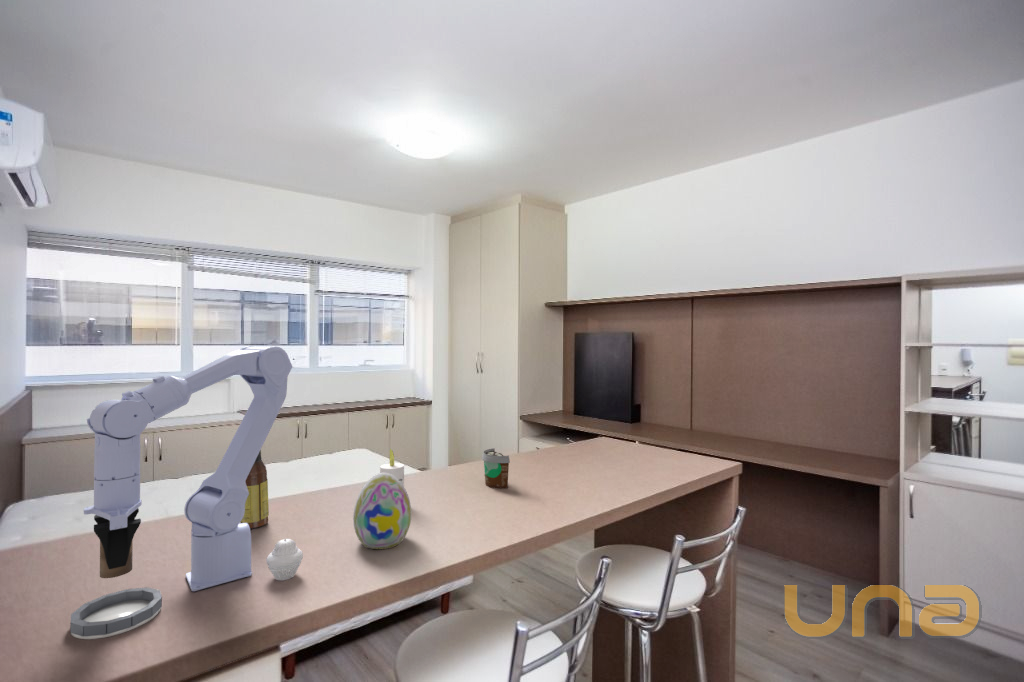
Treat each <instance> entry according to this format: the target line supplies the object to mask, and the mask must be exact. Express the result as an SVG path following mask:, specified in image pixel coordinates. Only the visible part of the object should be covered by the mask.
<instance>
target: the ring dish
mask: <svg viewBox="0 0 1024 682" xmlns="http://www.w3.org/2000/svg"><path fill="white" fill-rule="evenodd" d="M162 607H163V596H162V592H161V590H160V589H157V588H153V587H152V588H151V587H135V588H134V587H133V588H126V589H122V590H119V591H118V590H117V591H114V592H110V593H107V594H104V595H101V596H98V597H97V598H95V599H92V600H90V601H87V602H86V603H84V604H82V605H80V607H78V608H77V609H76V610H74V611H73V612H71V614H70V620H69V621H70V623H69V624H70V625H69V626H70V628H69V631H70V632H69V633H70V635H71V636H72V637H74V638H75V639H78V640H79V639H80V640H97V639H103V638H109V637H113V636H118V635H121V634H123V633H126V632H129V631H132V630H134V629H137V628H139V627H141V626H143V625H145V624H146V623H148V622H150V621H151V620H153V619H154V618H155V617H156V616H158V614H159V613H160V611H161V608H162Z"/></svg>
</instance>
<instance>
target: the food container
mask: <svg viewBox="0 0 1024 682" xmlns="http://www.w3.org/2000/svg"><path fill="white" fill-rule="evenodd" d="M495 448H496V447H495ZM495 448H487V449H485V450H483V453H482V455H481V460H482V461H483V467H484V481H485V482H484V483H485V484H484V485H485V486H486V487H488V488H491V489H502V490H503V489H508V488H509V487H508V486H509V468H510V465H509V464H510V463H511V462H510V455H503V453H502V452H497V451H495Z"/></svg>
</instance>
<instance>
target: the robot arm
mask: <svg viewBox="0 0 1024 682" xmlns="http://www.w3.org/2000/svg"><path fill="white" fill-rule="evenodd" d="M292 369H293V364H292V362H291V360H290V358H289V356H288V353H287V352H286V350H285V349H283V348H282V347H279V346H276V345H275V346H273V345H272V346H253V345H252V346H251V345H247V346H243V347H242V348H240V349H237V350H233V351H230V352H228V353H226V354H225V355H223V356H221V357H220V358H216V359H215V360H213V361H211V362H210V363H207V364H205V365H204V366H202V367H199V368H198V369H195V370H194V371H192V372H190V373H188V374H186V375H184V376H182V377H181V378H179V377H178V376H177V377H176V376H175V375H167V376H164V375H158V376H156V377H153V378H152V382H151V383H149V384H147V385H145V386H143V387H141V388H138V389H135V390H134V391H131V390H126V391H125V392H122V394H121V396H122V397H121V399H109V400H105V401H102V402H100V403H99V404H97V405H96V406H95V407H94V409H92V411H91V413H90V416H89V418H88V417H87V419H86V422H87V426H88V428H89V429H90V430H91V431H92V433H94V449H93V453H94V454H93V455H94V456H93V458H94V461H93V505H90V506H85V507H84V508H83V515H94V517H93V520H94V521H95V522H96V524H94V525H93V531H94V533H95V535H96V536H97V538H98V539H99V542H100V541H101V543H102V546H103V549H104V553H105V558H106V563H107V566H108V568H109V569H113V568H118V567H122V566H125V565H126V563H127V560H128V556H129V552H130V547H131V543H132V540H133V539H134V537H135V534H136V532H137V530H138V529H139V527H140V525H141V523H142V519H141V518H136V517H137V515H138V514H139V511H140V509H139V508H141V506H142V504H143V503H142V499H141V433H143V432H144V431H145V430H146V428H147V426H148V424H150V423H152V422H154V421H156V420H159V419H160V418H162V417H165V416H166V415H168V414H170V413H172V412H174V411H176V410H178V409H180V408H182V407H184V406H186V405H187V404H188V403H189V401H190V398H191V397H192V394H194V393H197V392H199V391H201V390H204V389H206V388H208V387H210V386H212V385H215V384H217V383H219V382H221V381H223V380H224V381H225V380H226V379H229V378H231V377H233V376H240V377H241V378H242V379H243V380H244V382H246V385H248V386H249V387H250V390H251V392H252V394H253V399H252V400H251V402H250V405H249V407H248V408H247V410H246V413H245V414H244V416H243V417H242V419H241V422H240V424H239V426H238V428H237V430H236V432H235V433H234V435H233V438H232V439H231V442H230V443H229V446H228V447H227V449H226V450H225V453H224V455H223V457H222V459H221V461H220V463H219V465H218V466H217V468H216V470H215V472H213V474H211V475H210V476H208V477H206V478H205V479H204V480H202V482H201V484H200V486H199V488H198V489H197V490H196V491H194V492H193V493H192V494H191V496H189V497H188V499H187V501H186V502H185V505H184V510H183V511H184V516H185V518H186V519H187V520H188V522H190V523H191V533H190V534H191V536H190V537H191V539H190V540H191V541H190V543H191V544H190V550H191V551H190V571H189V572H186V573H185V578H186V580H187V583H188V585H189V588H190V590H191V592H196V591H201V590H203V589H204V590H205V589H207V588H211V587H215V586H218V585H222V584H225V583H229V582H232V581H233V582H234V581H237V580H240V579H244V578H246V577H251V576H252V575H253V571H252V533H251V532H252V531H251V529H250V527H249V525H248V523H240V522H241V520H242V518H243V516H244V513H245V502H246V500H247V497H248V495H249V492H248V489H247V486H246V482H245V481H246V479H247V477H248V475H249V472H250V470H251V468H252V466H253V464H254V462H255V460H256V458H257V456H258V454H259V452H260V450H261V451H262V447H263V445H264V443H265V441H266V439H267V438H268V435H269V433H270V431H271V429H272V427H273V425H274V423H275V422H276V418H277V417H278V415H279V413H280V411H281V408H282V406H283V405H284V402H285V400H286V397H287V390H288V377H289V374H290V373H291V370H292ZM133 541H134V540H133Z"/></svg>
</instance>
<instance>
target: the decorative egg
mask: <svg viewBox="0 0 1024 682" xmlns="http://www.w3.org/2000/svg"><path fill="white" fill-rule="evenodd" d="M352 517H353V518H352V519H353V521H352V522H353V529H354V532H355V534H356V537H357V539H358V540H359V542H360V543H361V544H362V546H364V547H366V548H368V549H372V550H385V549H391V548H393V547H396V546H398V545H399V544H401V543H402V541H403V540H404V539H405V537H406V536H407V534H408V532H409V529H410V526H411V521H412V505H411V501H410V496H409V494H408V491H407V490H406V488H405V485H404V486H403V485H402V483H401V482H400V481H399V480H398V479H397V478H396V477H395V476H393V475H391V474H389V473H380V472H379V473H377V474H374V475H373V476H372V477H371V478H370V479H368V480H367V481H366V483H365V484H364V486H363V487H362V488H361V489H360V492H359V493H358V495H357V498H356V502H355V505H354V509H353V516H352Z"/></svg>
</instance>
